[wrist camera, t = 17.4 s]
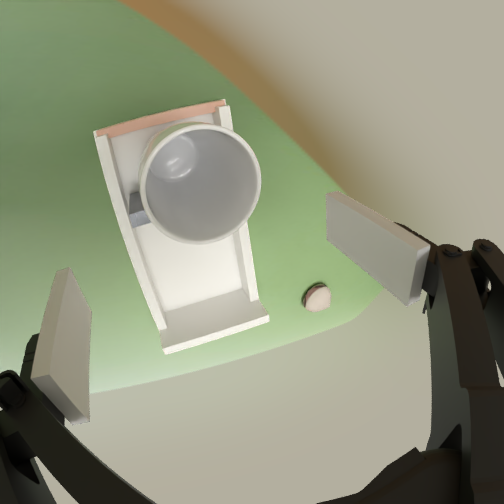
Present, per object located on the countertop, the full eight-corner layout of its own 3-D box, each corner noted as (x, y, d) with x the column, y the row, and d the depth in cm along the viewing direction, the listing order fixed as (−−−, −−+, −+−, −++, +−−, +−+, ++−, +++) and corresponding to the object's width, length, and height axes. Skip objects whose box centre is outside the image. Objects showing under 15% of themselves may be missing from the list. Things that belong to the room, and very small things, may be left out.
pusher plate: (129, 193, 29) (128, 214, 24) (217, 170, 31) (234, 186, 26) (132, 205, 30) (132, 228, 25) (219, 181, 32) (236, 199, 27)
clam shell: (315, 276, 44) (324, 286, 42) (334, 291, 47) (343, 300, 45) (295, 299, 45) (303, 309, 43) (315, 312, 47) (323, 322, 45)
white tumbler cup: (138, 191, 29) (144, 254, 17) (135, 122, 27) (135, 126, 14) (205, 185, 32) (261, 239, 19) (205, 118, 29) (265, 122, 16)
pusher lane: (94, 130, 26) (82, 138, 21) (223, 99, 29) (245, 99, 24) (154, 317, 38) (160, 356, 32) (252, 287, 41) (273, 319, 35)
